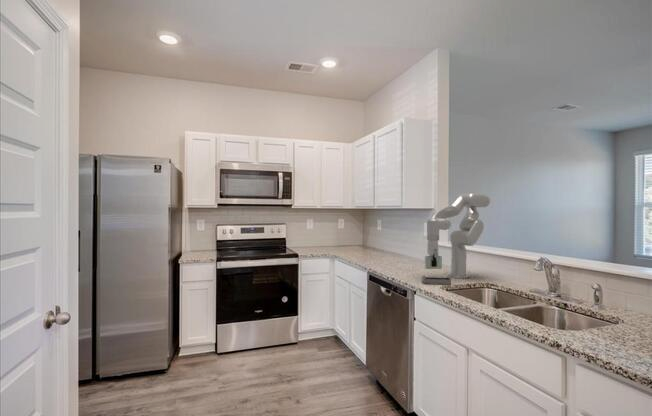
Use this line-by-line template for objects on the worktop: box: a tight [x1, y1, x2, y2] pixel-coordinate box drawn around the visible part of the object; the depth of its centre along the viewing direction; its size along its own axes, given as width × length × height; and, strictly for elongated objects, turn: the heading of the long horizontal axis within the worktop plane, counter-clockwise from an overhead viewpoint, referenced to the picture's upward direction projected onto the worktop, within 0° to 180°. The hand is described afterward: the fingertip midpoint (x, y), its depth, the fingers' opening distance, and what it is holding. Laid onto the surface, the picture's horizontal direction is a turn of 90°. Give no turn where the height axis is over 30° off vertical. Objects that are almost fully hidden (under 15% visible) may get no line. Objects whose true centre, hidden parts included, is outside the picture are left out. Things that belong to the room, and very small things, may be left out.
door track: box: [421, 275, 452, 286], centre depth 203 cm, size 7×16×4 cm, turn 86°
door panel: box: [424, 255, 443, 270], centre depth 213 cm, size 3×10×8 cm, turn 86°
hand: (433, 265), depth 214 cm, fingers closed on door panel, 3 cm apart
